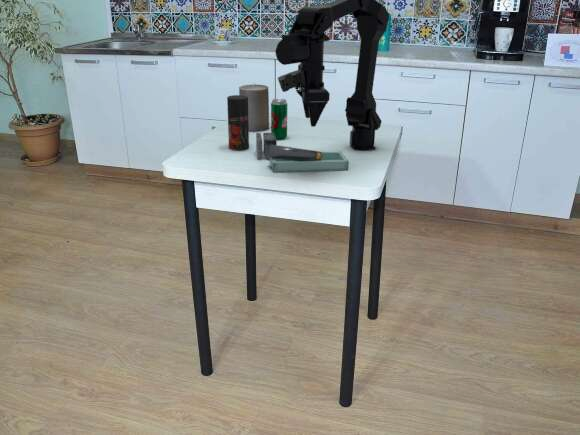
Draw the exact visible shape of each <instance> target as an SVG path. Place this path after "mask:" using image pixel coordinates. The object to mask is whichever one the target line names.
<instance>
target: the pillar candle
mask: <svg viewBox="0 0 580 435" xmlns="http://www.w3.org/2000/svg"><path fill="white" fill-rule="evenodd" d="M238 93H239V94H238V95H243V96H247V97H248V122H249V132H251V133H252V132H255V133H257V132H262V131H266V130H269V129H270V104H269V103H270V100H269V97H270V96H269V93H270V92H269V86H268V85H266V84H256V83H255V82H254V83H253V84H244V85H240V86H239V87H238Z"/></svg>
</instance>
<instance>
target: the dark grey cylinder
mask: <svg viewBox="0 0 580 435" xmlns="http://www.w3.org/2000/svg"><path fill="white" fill-rule="evenodd" d="M322 152H323V151H319V150H312V149H305V148H298V147H292V146H283V145H271V144H269V148H268V157H271V158H278V159H285V160H292V161H321V158H322Z"/></svg>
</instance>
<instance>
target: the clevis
mask: <svg viewBox="0 0 580 435" xmlns="http://www.w3.org/2000/svg"><path fill="white" fill-rule="evenodd" d="M255 139H256V140H255V148H256V149H255V150H256V157H257V160H258V161H260V160H261V161H262V160H263V154H264V156H265V157H264V158H265V161H266V160H267V161H268V160H269V161H270V157H268V148H269V144H271V145H277V144H278V143H277V141H278V140H276V137H275V135H274V133H271V132H263V137H262V134H261V132H255Z"/></svg>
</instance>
